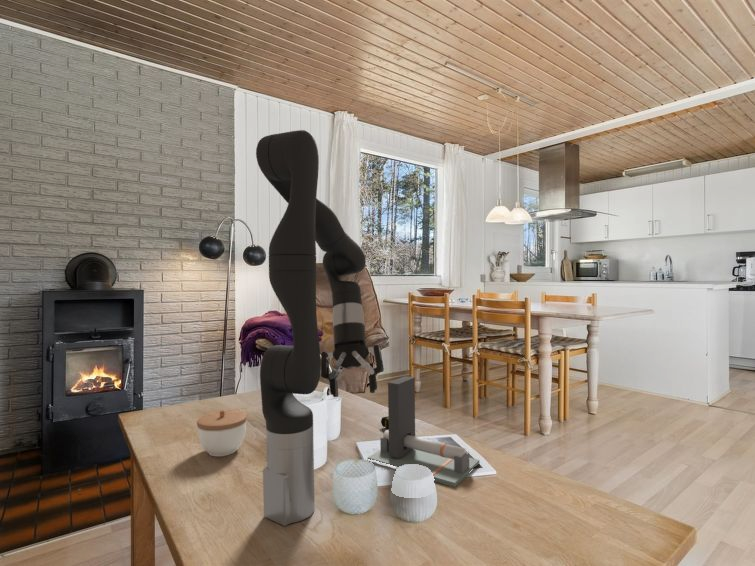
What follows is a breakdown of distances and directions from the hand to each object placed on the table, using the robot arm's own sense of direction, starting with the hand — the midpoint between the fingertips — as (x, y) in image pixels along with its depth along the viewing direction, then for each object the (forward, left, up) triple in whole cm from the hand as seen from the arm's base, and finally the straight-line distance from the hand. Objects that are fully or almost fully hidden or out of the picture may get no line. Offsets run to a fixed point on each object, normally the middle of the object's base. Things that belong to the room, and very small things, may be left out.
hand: (354, 394), depth 98 cm
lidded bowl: (-6, +41, -20) cm, 46 cm away
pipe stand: (+18, -7, -20) cm, 28 cm away
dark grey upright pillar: (+18, -1, -19) cm, 26 cm away
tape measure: (+34, +12, -21) cm, 41 cm away
